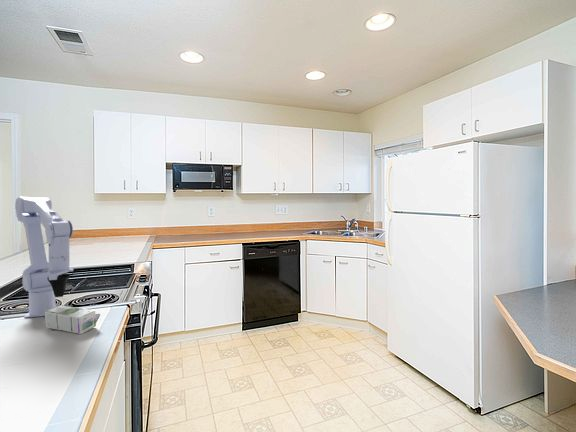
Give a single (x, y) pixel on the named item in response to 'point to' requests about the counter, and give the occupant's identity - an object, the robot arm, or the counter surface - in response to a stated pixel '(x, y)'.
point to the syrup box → (70, 319)
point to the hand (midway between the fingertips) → (59, 296)
